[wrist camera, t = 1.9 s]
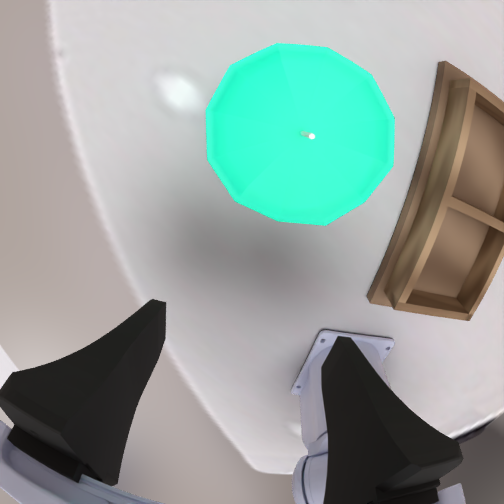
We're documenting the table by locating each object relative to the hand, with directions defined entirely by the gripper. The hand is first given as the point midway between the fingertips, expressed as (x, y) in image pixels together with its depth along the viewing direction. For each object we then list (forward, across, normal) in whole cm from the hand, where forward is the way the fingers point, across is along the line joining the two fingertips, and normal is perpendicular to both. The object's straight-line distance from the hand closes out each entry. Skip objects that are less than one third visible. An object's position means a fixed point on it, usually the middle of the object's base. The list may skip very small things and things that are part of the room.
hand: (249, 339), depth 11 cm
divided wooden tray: (+10, -15, -7) cm, 20 cm away
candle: (+11, 0, -8) cm, 13 cm away
